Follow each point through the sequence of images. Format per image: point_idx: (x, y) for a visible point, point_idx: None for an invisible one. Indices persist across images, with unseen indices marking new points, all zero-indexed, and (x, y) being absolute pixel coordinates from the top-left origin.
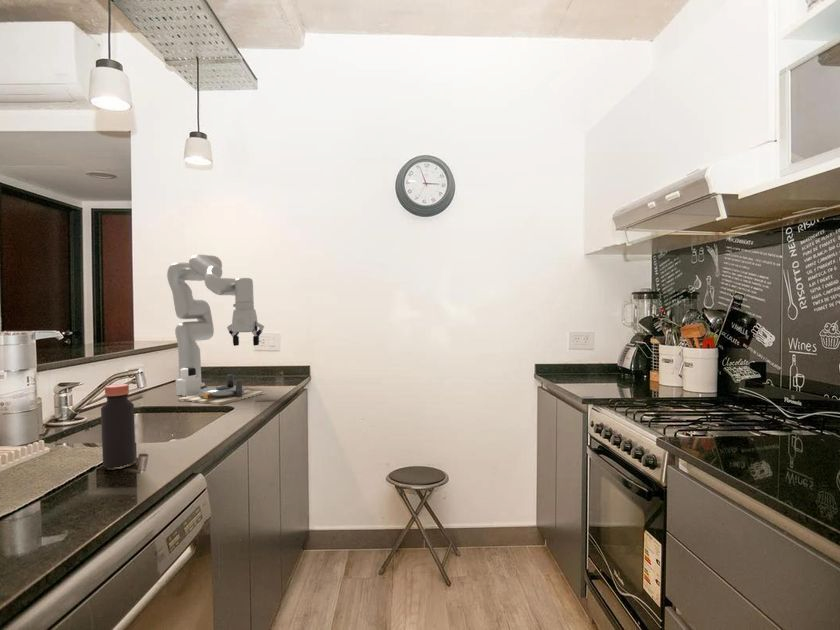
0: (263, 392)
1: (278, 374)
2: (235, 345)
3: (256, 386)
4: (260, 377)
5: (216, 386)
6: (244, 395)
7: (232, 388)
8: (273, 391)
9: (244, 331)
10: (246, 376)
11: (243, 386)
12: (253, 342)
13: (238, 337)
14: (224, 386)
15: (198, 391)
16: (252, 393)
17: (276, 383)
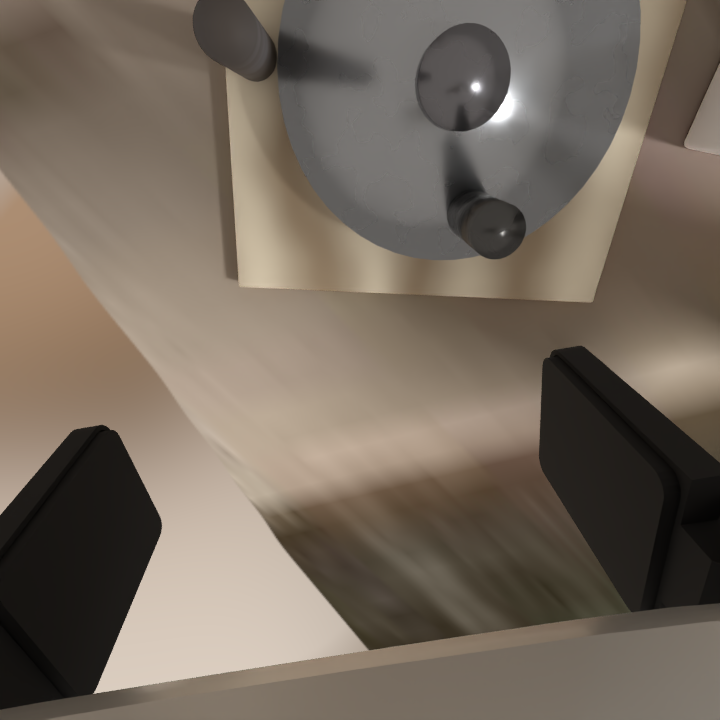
0: (239, 280)
1: None
2: (550, 376)
3: (457, 444)
4: (590, 612)
5: (505, 50)
6: (256, 118)
7: (385, 132)
8: (244, 359)
9: (103, 709)
10: None
11: (360, 235)
12: (77, 462)
13: (622, 589)
14: (430, 72)
15: (705, 124)
16: (258, 203)
17: (403, 529)
